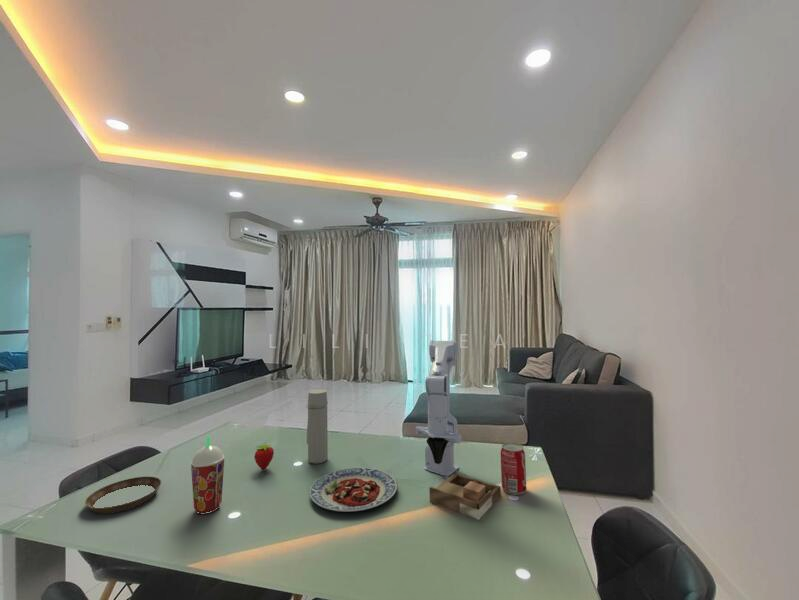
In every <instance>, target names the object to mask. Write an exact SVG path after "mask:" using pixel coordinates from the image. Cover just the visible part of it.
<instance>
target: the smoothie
mask: <svg viewBox="0 0 799 600" xmlns="http://www.w3.org/2000/svg"><path fill="white" fill-rule="evenodd" d="M225 458H226V456H225V454H224V453H223V451H222V449H221V448H220V447H218V446H216V445H213V444H212V445H211V444H210V435H207V436H206V446H202V447H201V448H199V449H198V451H196V452H195V454H194V456H193V457H192V459H191V460H190V468H191V483H192V497H193V498H192V499H193V508H194V510H195V512H196V511H197V512H199V513H206V512H210V511H213V510H215V509H216V508H218V507H219V508H220V506H219V505H221V503H222V501H223V489H224V488H223V485H224V471H225ZM219 508H218V509H219ZM215 511H216V510H215ZM197 512H196V513H197Z"/></svg>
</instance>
